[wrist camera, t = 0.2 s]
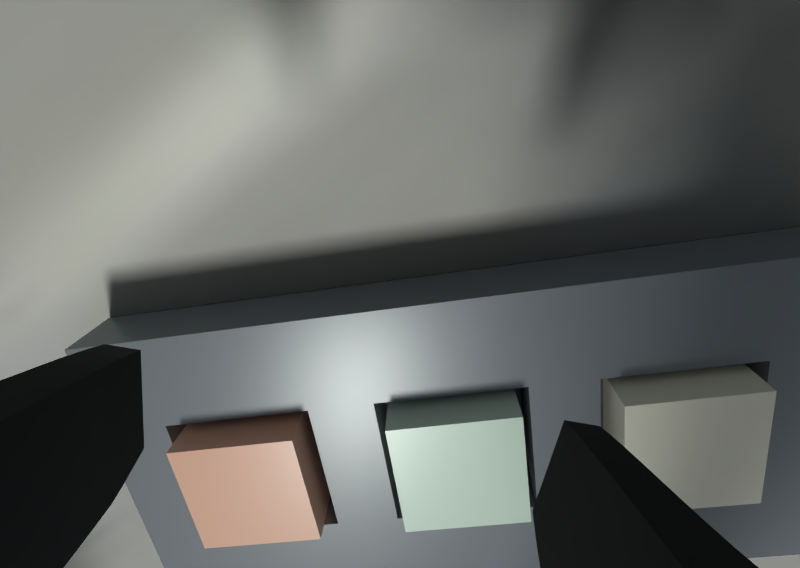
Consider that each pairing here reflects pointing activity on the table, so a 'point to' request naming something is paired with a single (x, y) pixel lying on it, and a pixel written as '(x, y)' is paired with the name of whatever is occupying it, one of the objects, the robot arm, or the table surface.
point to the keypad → (465, 384)
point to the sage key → (459, 460)
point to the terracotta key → (252, 479)
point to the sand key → (696, 430)
